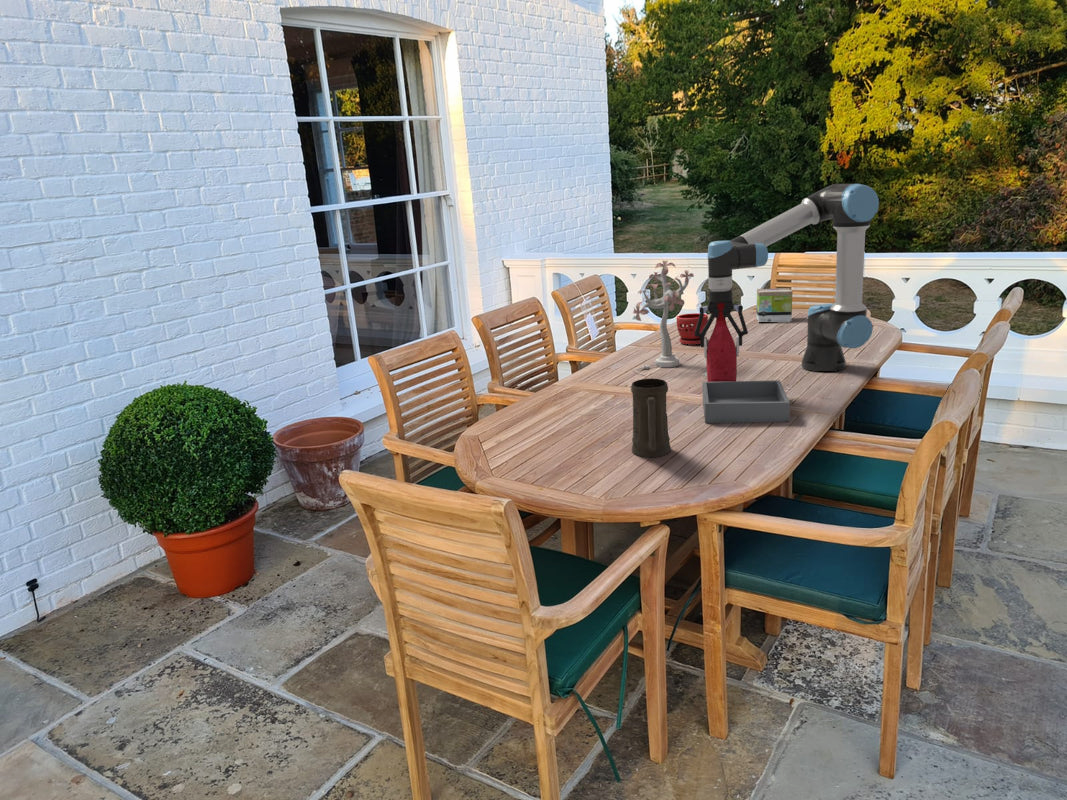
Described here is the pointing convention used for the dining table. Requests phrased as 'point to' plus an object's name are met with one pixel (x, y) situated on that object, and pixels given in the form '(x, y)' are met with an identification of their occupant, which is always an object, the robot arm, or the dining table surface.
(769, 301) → the tea box
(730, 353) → the wine bottle
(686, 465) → the dining table surface
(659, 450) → the beer stein
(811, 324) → the robot arm
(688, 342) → the plant pot
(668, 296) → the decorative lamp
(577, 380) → the dining table surface
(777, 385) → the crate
